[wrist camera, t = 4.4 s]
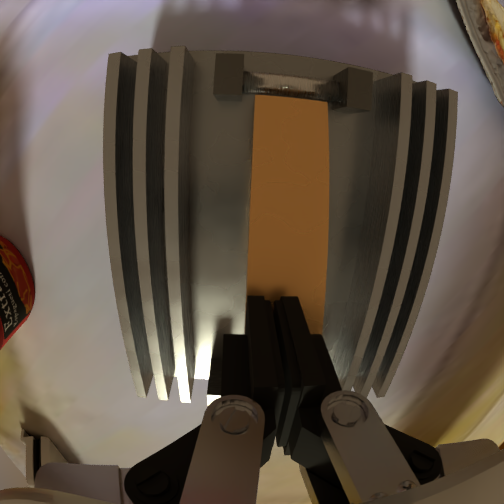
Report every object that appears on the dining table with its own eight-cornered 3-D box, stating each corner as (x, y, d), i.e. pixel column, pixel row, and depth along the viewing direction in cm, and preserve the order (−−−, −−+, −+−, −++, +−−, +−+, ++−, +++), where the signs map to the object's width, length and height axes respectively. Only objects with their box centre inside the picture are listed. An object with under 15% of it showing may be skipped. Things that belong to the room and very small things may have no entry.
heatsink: (402, 91, 14) (465, 81, 8) (358, 347, 20) (386, 406, 15) (147, 68, 13) (102, 40, 8) (156, 343, 19) (135, 407, 14)
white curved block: (20, 427, 25) (13, 488, 16) (49, 427, 27) (46, 492, 18) (68, 484, 31) (73, 533, 22) (93, 483, 33) (100, 534, 24)
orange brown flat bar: (322, 109, 11) (327, 102, 11) (308, 405, 11) (312, 413, 11) (254, 102, 11) (255, 94, 10) (241, 406, 11) (241, 415, 11)
